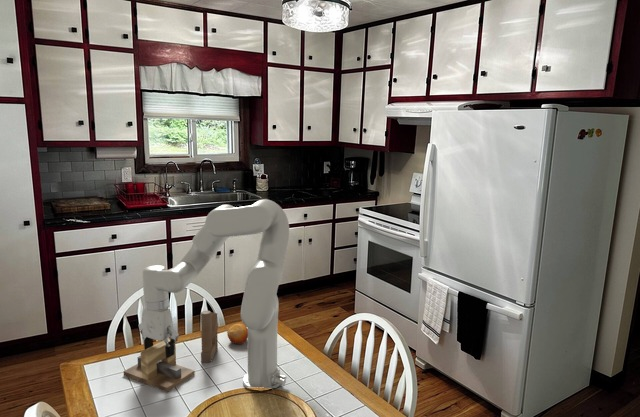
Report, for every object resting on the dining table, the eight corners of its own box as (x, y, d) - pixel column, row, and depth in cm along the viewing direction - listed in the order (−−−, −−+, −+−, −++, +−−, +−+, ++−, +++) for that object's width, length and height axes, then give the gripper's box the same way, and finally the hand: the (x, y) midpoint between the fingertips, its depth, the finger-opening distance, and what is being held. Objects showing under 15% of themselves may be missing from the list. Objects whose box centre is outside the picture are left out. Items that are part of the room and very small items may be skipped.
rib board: (194, 374, 155) (194, 362, 154) (167, 392, 144) (166, 378, 143) (152, 360, 164) (151, 348, 163) (123, 375, 153) (123, 362, 153)
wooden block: (217, 348, 173) (217, 303, 171) (211, 362, 163) (210, 314, 160) (208, 348, 174) (207, 302, 171) (200, 362, 163) (199, 314, 160)
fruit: (255, 335, 182) (248, 322, 177) (244, 351, 177) (236, 338, 172) (240, 330, 186) (233, 317, 182) (228, 346, 181) (221, 333, 177)
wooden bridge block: (176, 364, 158) (175, 339, 157) (148, 380, 148) (147, 354, 146) (169, 362, 160) (168, 337, 158) (141, 378, 149) (140, 352, 148)
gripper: (128, 302, 151) (132, 351, 153) (167, 312, 143) (169, 364, 145) (147, 295, 157) (149, 342, 160) (184, 304, 149) (187, 354, 152)
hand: (159, 352), depth 153 cm, fingers open, 9 cm apart
